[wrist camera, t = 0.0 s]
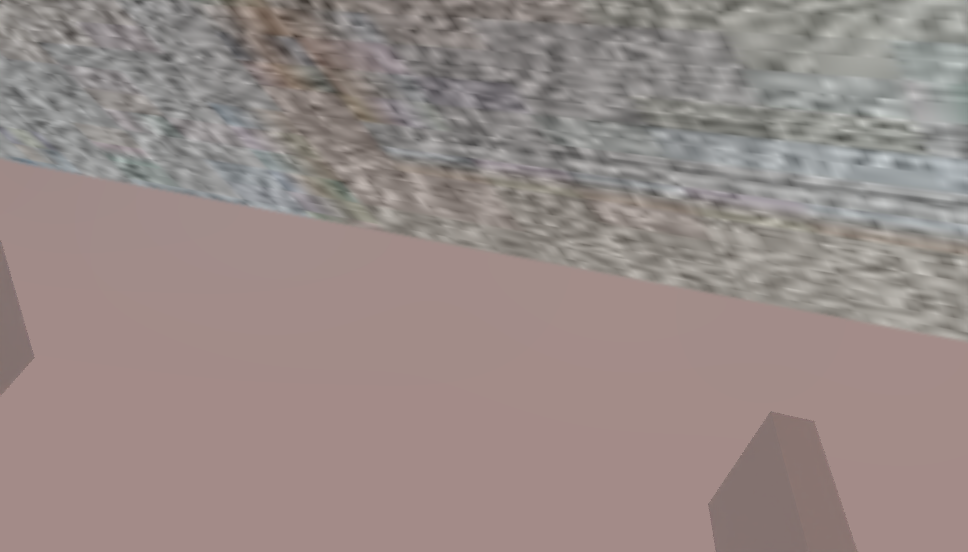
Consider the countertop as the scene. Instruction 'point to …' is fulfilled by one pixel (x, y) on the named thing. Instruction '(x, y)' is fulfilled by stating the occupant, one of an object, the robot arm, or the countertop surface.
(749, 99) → the countertop surface
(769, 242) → the countertop surface
